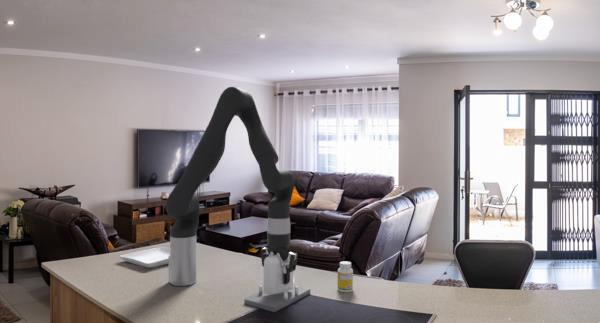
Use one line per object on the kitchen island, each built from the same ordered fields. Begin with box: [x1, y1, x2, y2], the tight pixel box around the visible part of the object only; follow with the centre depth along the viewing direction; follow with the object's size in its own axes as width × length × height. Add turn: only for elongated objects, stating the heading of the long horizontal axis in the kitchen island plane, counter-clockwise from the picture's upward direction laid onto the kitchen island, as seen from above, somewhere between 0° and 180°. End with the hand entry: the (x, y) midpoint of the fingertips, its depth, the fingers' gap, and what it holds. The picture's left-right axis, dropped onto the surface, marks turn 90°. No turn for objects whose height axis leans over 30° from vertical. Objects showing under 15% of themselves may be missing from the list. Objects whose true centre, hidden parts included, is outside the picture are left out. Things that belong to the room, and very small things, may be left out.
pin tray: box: [243, 284, 311, 313], centre depth 141 cm, size 12×20×4 cm, turn 146°
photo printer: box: [263, 255, 294, 294], centre depth 140 cm, size 10×4×12 cm, turn 124°
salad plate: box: [119, 246, 170, 269], centre depth 184 cm, size 21×21×3 cm
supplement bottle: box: [337, 260, 354, 293], centre depth 149 cm, size 5×5×10 cm
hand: (278, 281), depth 141 cm, fingers closed on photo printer, 5 cm apart
